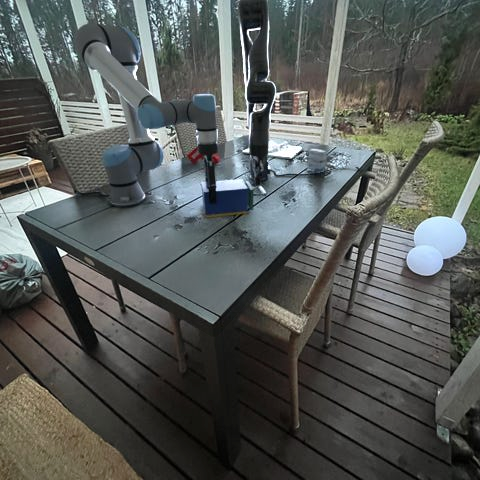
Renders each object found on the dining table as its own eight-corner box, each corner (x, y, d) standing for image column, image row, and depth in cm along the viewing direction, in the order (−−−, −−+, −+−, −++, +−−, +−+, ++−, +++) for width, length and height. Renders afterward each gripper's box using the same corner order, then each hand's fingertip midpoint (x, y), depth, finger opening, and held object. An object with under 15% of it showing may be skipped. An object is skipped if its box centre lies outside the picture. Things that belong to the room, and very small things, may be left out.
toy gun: (223, 158, 167) (209, 137, 163) (221, 160, 164) (206, 138, 160) (204, 173, 177) (189, 154, 173) (201, 175, 174) (186, 155, 170)
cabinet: (241, 202, 122) (241, 178, 116) (247, 213, 113) (247, 188, 107) (203, 206, 119) (201, 182, 113) (205, 217, 110) (203, 192, 104)
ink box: (324, 171, 156) (327, 150, 149) (319, 173, 153) (323, 152, 146) (310, 168, 160) (313, 148, 154) (306, 170, 157) (309, 149, 151)
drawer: (260, 199, 122) (261, 180, 117) (266, 208, 114) (267, 188, 109) (212, 203, 118) (210, 184, 113) (214, 213, 110) (213, 193, 105)
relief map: (291, 159, 177) (291, 151, 174) (243, 153, 190) (243, 145, 187) (302, 149, 197) (303, 142, 194) (258, 144, 211) (258, 137, 208)
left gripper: (195, 135, 108) (199, 187, 120) (199, 150, 89) (205, 210, 101) (213, 134, 110) (216, 186, 122) (222, 149, 90) (224, 208, 102)
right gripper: (245, 138, 108) (245, 180, 117) (253, 146, 97) (252, 191, 106) (263, 137, 109) (261, 179, 119) (273, 145, 99) (270, 190, 108)
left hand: (211, 197), depth 111 cm, fingers closed on cabinet, 11 cm apart
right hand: (257, 185), depth 113 cm, fingers closed
